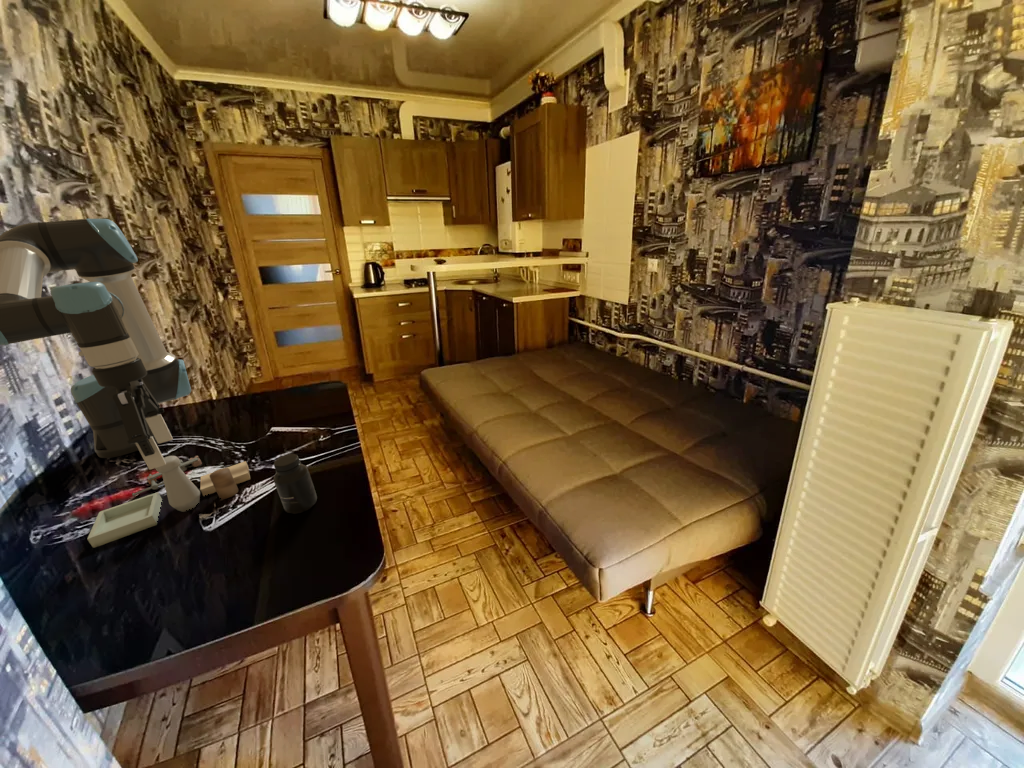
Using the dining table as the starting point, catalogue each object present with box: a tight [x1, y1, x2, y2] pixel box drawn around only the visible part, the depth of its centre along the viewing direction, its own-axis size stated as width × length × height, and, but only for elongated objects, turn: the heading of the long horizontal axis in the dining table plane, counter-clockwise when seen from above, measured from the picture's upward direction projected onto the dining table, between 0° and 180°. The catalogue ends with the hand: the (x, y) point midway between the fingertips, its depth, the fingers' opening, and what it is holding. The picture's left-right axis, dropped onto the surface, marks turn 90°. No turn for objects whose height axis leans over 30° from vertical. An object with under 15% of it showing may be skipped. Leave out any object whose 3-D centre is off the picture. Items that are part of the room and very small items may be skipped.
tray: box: [87, 491, 163, 549], centre depth 90 cm, size 11×11×2 cm
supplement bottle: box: [273, 453, 318, 515], centre depth 89 cm, size 7×7×12 cm
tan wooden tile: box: [199, 460, 251, 497], centre depth 102 cm, size 7×10×2 cm
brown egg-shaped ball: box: [209, 467, 239, 500], centre depth 96 cm, size 4×4×6 cm
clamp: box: [132, 455, 203, 498], centre depth 107 cm, size 15×2×10 cm
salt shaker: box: [154, 455, 201, 513], centre depth 92 cm, size 6×6×13 cm
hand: (162, 453), depth 89 cm, fingers open, 13 cm apart
